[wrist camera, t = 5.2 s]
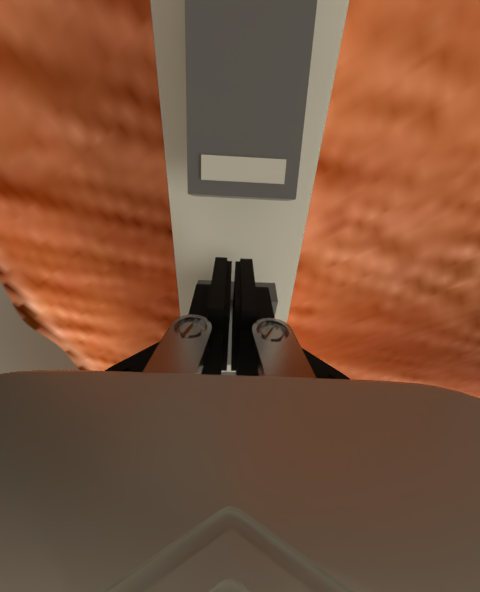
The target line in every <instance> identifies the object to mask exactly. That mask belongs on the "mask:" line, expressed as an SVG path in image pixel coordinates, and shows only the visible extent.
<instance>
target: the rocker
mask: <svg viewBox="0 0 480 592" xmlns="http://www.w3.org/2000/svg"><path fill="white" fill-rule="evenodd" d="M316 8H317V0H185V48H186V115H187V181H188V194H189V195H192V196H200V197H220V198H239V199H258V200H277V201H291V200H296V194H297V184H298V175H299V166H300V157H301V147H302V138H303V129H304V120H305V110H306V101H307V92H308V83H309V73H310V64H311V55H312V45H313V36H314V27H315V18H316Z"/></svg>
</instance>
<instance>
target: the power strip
mask: <svg viewBox="0 0 480 592" xmlns="http://www.w3.org/2000/svg"><path fill="white" fill-rule="evenodd" d="M150 3H151V14H152V24H153V35H154V45H155V56H156V66H157V77H158V87H159V98H160V108H161V119H162V129H163V140H164V150H165V161H166V171H167V182H168V192H169V203H170V213H171V224H172V234H173V245H174V255H175V266H176V276H177V287H178V297H179V308H180V317H181V316H184V315H188V314H189V310H190V306H191V302H192V299H193V295H194V291H195V287H196V284H197V282H198V280H212V275H213V269H214V263H215V257H225V258H227V261H232V274H231V281H234V278H235V262H236V261H240V258H243V259H252V261H253V269H254V278H255V282H263V283H275V286H276V292H277V299H278V304H277V309H276V313H275V319H279V320H282V321H284V322H285V323H287V318H288V313H289V308H290V303H291V298H292V293H293V287H294V282H295V277H296V272H297V267H298V262H299V257H300V251H301V246H302V241H303V236H304V231H305V226H306V221H307V215H308V210H309V205H310V200H311V195H312V190H313V184H314V179H315V174H316V169H317V164H318V159H319V154H320V148H321V143H322V138H323V133H324V128H325V123H326V118H327V112H328V107H329V102H330V97H331V92H332V87H333V82H334V76H335V71H336V66H337V61H338V56H339V51H340V45H341V40H342V35H343V30H344V25H345V20H346V15H347V9H348V4H349V0H317V8H316V18H315V27H314V36H313V45H312V55H311V64H310V73H309V83H308V92H307V101H306V110H305V120H304V129H303V138H302V147H301V157H300V166H299V175H298V184H297V194H296V200H291V201H277V200H258V199H239V198H220V197H200V196H192V195H189V194H188V181H187V115H186V48H185V0H150Z"/></svg>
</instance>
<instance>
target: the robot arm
mask: <svg viewBox="0 0 480 592" xmlns="http://www.w3.org/2000/svg"><path fill="white" fill-rule="evenodd" d="M231 274H232V261H227V258H225V257H215V263H214V269H213V275H212V281H211V284H196V287H195V291H194V295H193V299H192V302H191V306H190V310H189V314H188V315H184V316H181V317H178V318H177V319H175V320H174V321H173V322H172V323H171V324H170V326H169V328H168V329H167V331H166V333H165V334H164V336H163V338H162V339H161V341H160V342H158V343H156V344H154V345H152V346H150V347H149V348H147V349H145V350H143V351H141V352H139V353H137V354H135V355H133V356H131V357H129V358H127V359H125V360H123V361H122V362H120V363H118V364H116V365H114V366H112V367H110V368H109V369H107V370H105V371H86V370H33V371H18V372H10V373H3V374H0V592H480V398H477V397H474V396H471V395H468V394H465V393H462V392H459V391H455V390H450V389H446V388H441V387H437V386H431V385H424V384H417V383H404V382H390V381H373V380H350V379H349V378H348V377H347V376H345V375H344V374H342V373H341V372H339V371H337V370H336V369H334V368H333V367H331V366H330V365H328V364H326V363H325V362H323V361H322V360H320V359H318V358H317V357H315V356H314V355H312V354H311V353H309V352H307V351H306V350H304V349H303V348H301V346H300V344H299V342H298V340H297V338H296V336H295V334H294V332H293V330H292V328H291V327H290V326H289V325H288V324H287V323H285V322H284V321H282V320H279V319H275V317H274V312H273V307H272V302H271V297H270V292H269V288H268V287H256V286H255V278H254V269H253V261H252V259H243V258H240V261H236V262H235V278H234V294H233V311H232V347H231V371H236V375H221V371H227V358H228V339H229V321H230V300H231Z"/></svg>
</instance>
